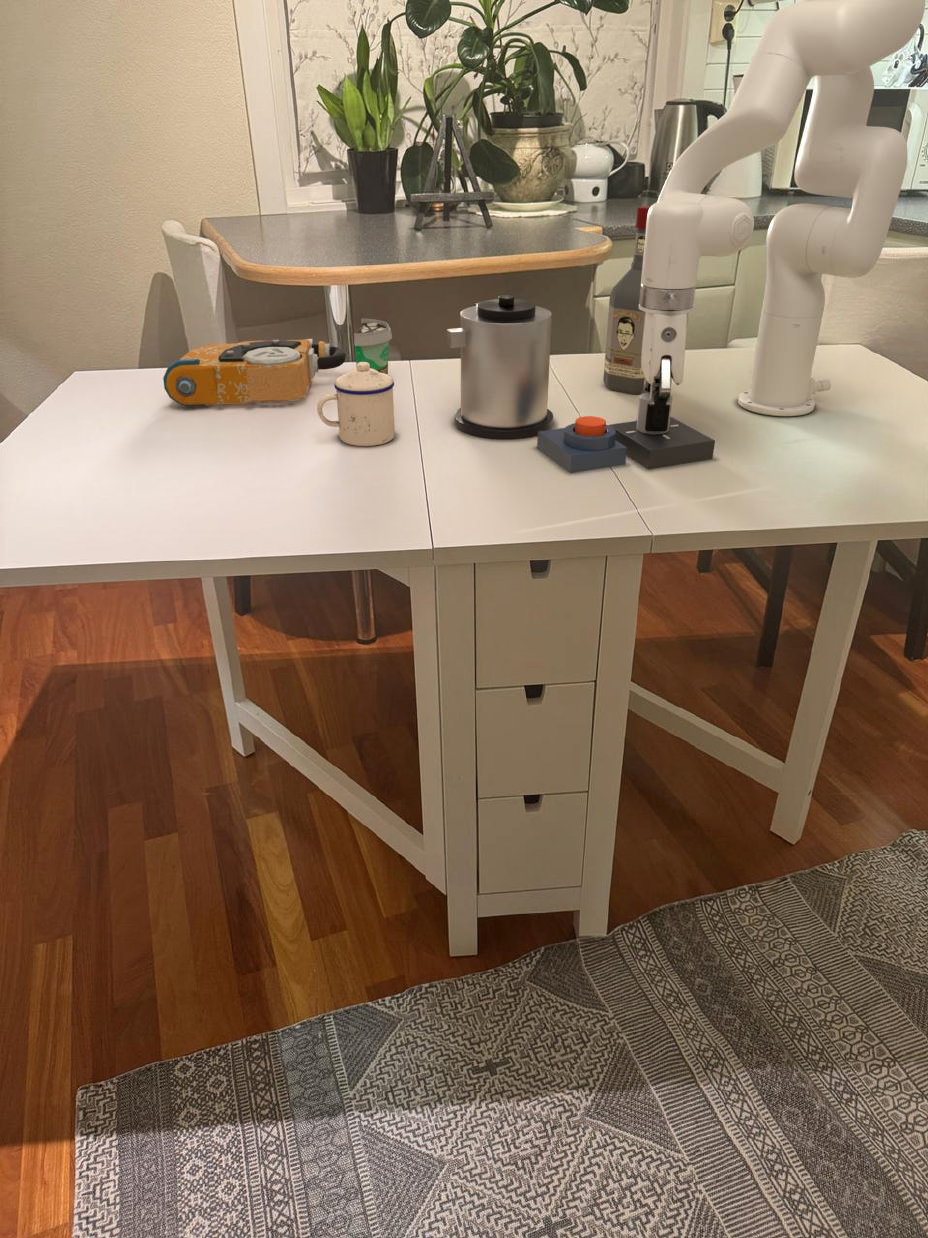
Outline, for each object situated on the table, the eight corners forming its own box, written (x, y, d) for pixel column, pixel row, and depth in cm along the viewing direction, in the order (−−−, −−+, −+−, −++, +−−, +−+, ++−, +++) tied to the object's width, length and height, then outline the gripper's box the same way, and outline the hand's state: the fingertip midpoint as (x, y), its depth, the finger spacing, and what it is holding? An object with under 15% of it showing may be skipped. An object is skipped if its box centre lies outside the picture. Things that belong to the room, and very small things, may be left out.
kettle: (518, 397, 160) (521, 279, 150) (570, 432, 145) (577, 302, 135) (425, 409, 155) (422, 287, 145) (468, 447, 139) (468, 312, 129)
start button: (595, 425, 135) (596, 414, 134) (610, 435, 131) (611, 423, 131) (569, 429, 134) (570, 418, 133) (583, 439, 130) (584, 427, 129)
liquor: (621, 376, 172) (636, 202, 156) (665, 384, 167) (685, 206, 152) (597, 388, 165) (611, 207, 150) (643, 397, 161) (662, 212, 145)
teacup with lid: (389, 425, 148) (385, 353, 142) (402, 444, 140) (399, 368, 134) (315, 433, 145) (308, 359, 139) (325, 452, 137) (318, 375, 131)
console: (668, 434, 144) (670, 414, 142) (712, 459, 134) (715, 439, 133) (606, 443, 141) (608, 423, 139) (648, 470, 131) (650, 449, 129)
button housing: (589, 440, 141) (591, 412, 139) (625, 464, 133) (628, 435, 130) (536, 448, 139) (538, 419, 136) (570, 473, 130) (572, 443, 128)
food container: (391, 390, 164) (388, 334, 159) (357, 390, 164) (353, 334, 159) (396, 371, 175) (394, 317, 170) (364, 371, 175) (361, 317, 170)
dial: (639, 422, 140) (642, 388, 137) (670, 425, 138) (674, 391, 136) (633, 432, 136) (637, 397, 133) (666, 436, 134) (670, 400, 132)
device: (183, 330, 169) (345, 326, 171) (190, 374, 173) (348, 370, 175) (156, 363, 150) (339, 358, 151) (165, 412, 154) (343, 407, 156)
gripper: (705, 311, 120) (688, 444, 129) (683, 286, 134) (669, 406, 144) (647, 311, 120) (634, 443, 129) (632, 285, 135) (621, 406, 144)
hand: (653, 423), depth 136 cm, fingers closed on dial, 4 cm apart
